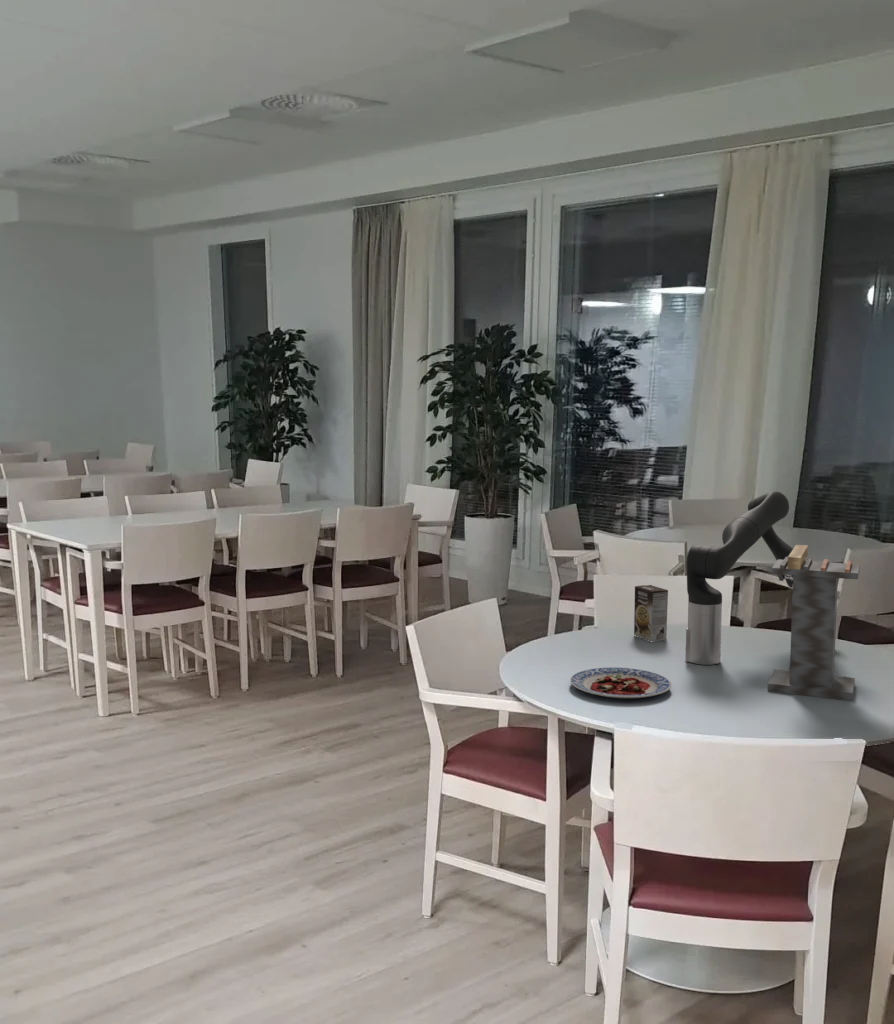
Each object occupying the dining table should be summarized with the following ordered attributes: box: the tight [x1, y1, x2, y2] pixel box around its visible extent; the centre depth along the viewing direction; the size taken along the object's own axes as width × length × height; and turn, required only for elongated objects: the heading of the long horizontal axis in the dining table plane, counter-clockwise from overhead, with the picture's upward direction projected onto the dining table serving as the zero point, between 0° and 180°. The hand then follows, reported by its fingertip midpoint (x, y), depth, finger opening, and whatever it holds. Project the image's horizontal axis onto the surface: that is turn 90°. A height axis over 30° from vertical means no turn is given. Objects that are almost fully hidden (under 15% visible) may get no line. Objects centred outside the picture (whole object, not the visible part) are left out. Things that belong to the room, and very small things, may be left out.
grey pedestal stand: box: [767, 557, 861, 702], centre depth 244 cm, size 20×14×33 cm
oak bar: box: [787, 544, 809, 570], centre depth 248 cm, size 3×22×3 cm, turn 155°
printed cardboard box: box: [633, 584, 669, 642], centre depth 297 cm, size 9×6×16 cm
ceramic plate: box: [570, 667, 672, 700], centre depth 247 cm, size 26×26×3 cm
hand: (802, 565), depth 264 cm, fingers open, 8 cm apart
